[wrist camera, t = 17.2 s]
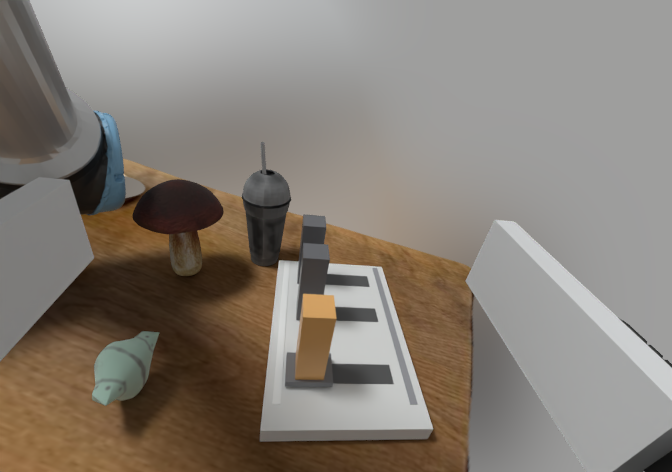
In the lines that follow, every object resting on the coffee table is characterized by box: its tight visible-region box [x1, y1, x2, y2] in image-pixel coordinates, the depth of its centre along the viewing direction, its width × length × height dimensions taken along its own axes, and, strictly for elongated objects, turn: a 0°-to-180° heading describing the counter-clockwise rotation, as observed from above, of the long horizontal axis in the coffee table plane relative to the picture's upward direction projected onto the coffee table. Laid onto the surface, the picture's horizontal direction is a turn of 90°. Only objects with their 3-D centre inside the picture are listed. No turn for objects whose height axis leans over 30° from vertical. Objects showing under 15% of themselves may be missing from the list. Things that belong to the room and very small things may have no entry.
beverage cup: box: [242, 142, 291, 266], centre depth 49 cm, size 7×7×20 cm
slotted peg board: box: [260, 215, 433, 442], centre depth 40 cm, size 17×26×12 cm, turn 5°
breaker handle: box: [285, 294, 336, 387], centre depth 33 cm, size 5×4×10 cm
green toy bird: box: [92, 331, 159, 406], centre depth 31 cm, size 8×4×7 cm, turn 174°
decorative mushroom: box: [133, 180, 223, 276], centre depth 45 cm, size 11×11×15 cm
